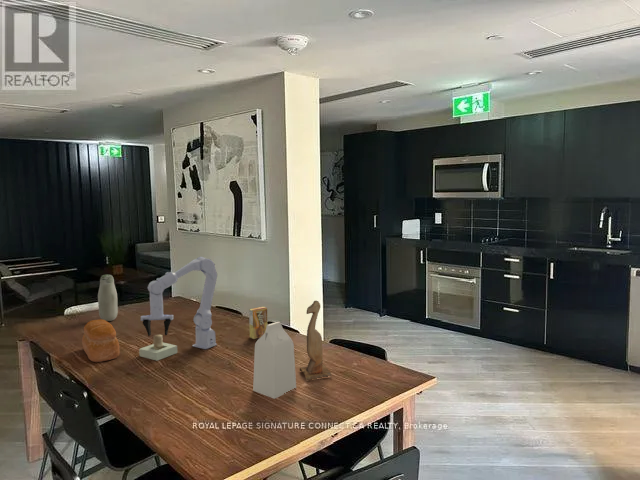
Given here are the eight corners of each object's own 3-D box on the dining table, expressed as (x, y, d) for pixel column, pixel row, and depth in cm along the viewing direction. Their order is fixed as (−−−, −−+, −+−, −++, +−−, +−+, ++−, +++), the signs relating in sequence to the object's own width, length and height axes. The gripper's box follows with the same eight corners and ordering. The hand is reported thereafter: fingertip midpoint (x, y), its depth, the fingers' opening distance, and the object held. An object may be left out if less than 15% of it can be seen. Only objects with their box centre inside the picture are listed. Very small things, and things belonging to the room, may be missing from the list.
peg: (164, 352, 222) (163, 334, 221) (162, 355, 218) (161, 337, 217) (155, 353, 221) (154, 334, 220) (153, 356, 217) (152, 337, 216)
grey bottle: (95, 322, 275) (93, 275, 273) (108, 317, 285) (105, 272, 282) (109, 323, 273) (107, 276, 270) (121, 319, 282) (119, 273, 279)
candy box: (263, 334, 250) (263, 306, 248) (268, 336, 247) (267, 307, 245) (249, 337, 244) (248, 308, 243) (253, 339, 241) (252, 310, 239)
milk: (275, 380, 188) (274, 317, 185) (296, 388, 180) (295, 322, 178) (253, 390, 178) (251, 324, 176) (274, 398, 171) (273, 330, 169)
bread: (90, 364, 207) (88, 331, 206) (80, 349, 228) (79, 318, 227) (122, 358, 215) (120, 326, 213) (110, 343, 236) (108, 314, 235)
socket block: (177, 352, 221) (177, 345, 221) (156, 360, 211) (156, 353, 211) (160, 348, 228) (160, 341, 227) (139, 356, 217) (139, 348, 217)
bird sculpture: (297, 372, 197) (294, 299, 193) (323, 368, 201) (321, 295, 197) (306, 383, 186) (303, 305, 182) (333, 378, 190) (331, 301, 186)
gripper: (174, 304, 222) (175, 332, 223) (143, 305, 221) (144, 332, 222) (170, 307, 215) (172, 336, 216) (138, 308, 214) (140, 337, 215)
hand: (157, 335), depth 219 cm, fingers open, 7 cm apart
